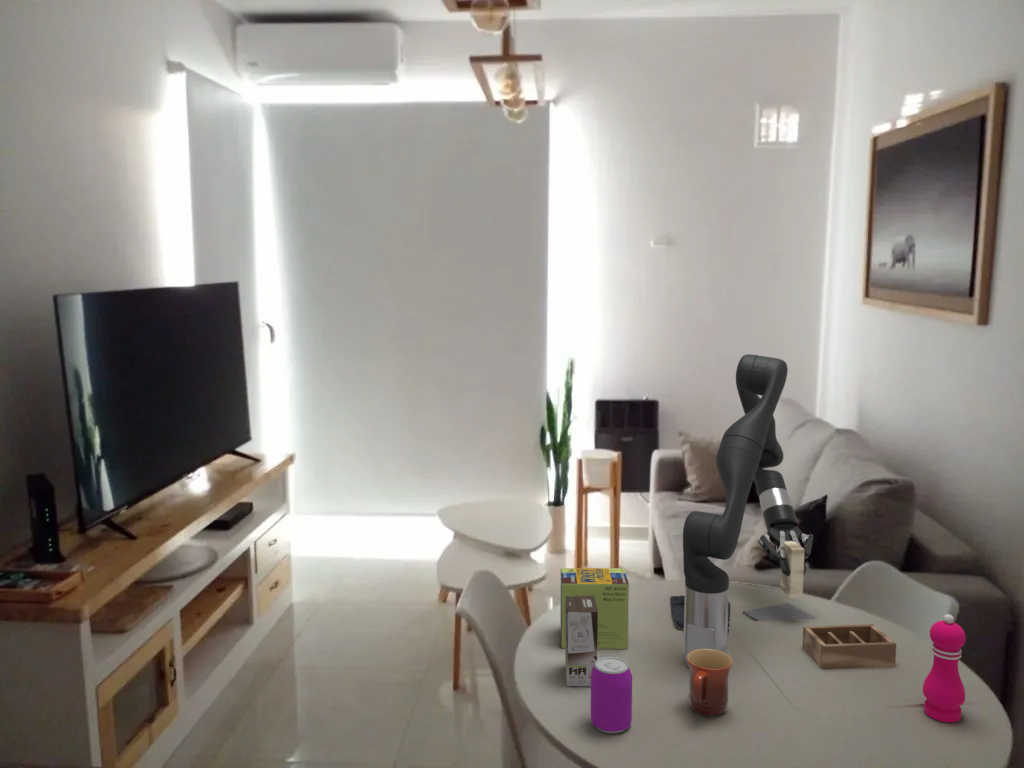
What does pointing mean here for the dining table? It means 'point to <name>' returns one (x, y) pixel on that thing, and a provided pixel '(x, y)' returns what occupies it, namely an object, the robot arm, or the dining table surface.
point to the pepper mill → (945, 672)
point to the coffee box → (580, 639)
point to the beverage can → (611, 695)
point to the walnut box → (849, 646)
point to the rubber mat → (778, 613)
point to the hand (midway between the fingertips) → (795, 574)
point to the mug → (709, 681)
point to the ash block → (793, 570)
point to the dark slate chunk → (678, 610)
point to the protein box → (600, 602)
